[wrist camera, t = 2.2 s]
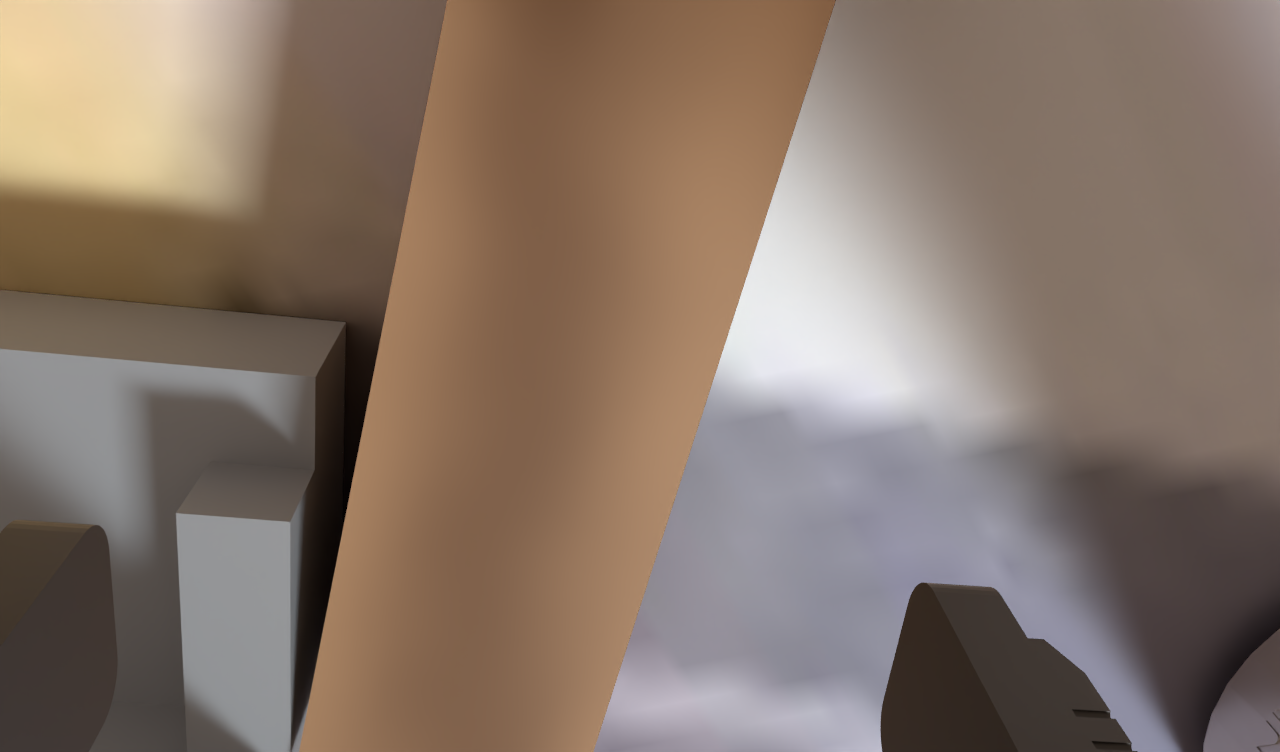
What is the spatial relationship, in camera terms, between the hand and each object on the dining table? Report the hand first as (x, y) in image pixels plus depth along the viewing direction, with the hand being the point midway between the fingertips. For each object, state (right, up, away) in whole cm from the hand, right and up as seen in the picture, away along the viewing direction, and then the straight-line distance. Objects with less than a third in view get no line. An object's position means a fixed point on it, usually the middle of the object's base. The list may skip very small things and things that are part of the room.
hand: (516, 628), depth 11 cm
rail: (0, +5, +13) cm, 14 cm away
